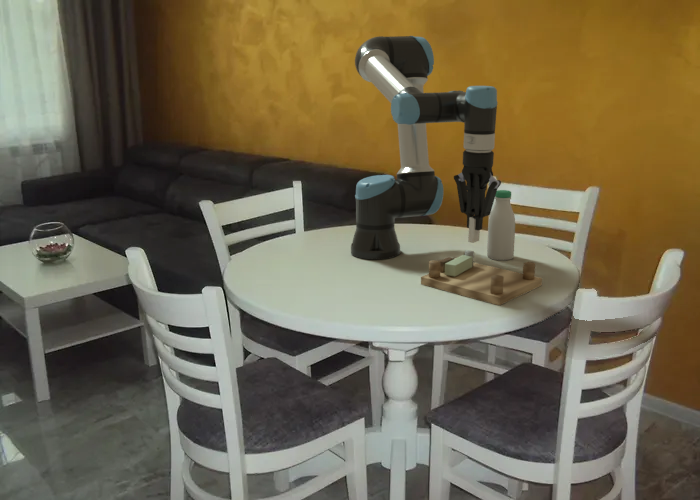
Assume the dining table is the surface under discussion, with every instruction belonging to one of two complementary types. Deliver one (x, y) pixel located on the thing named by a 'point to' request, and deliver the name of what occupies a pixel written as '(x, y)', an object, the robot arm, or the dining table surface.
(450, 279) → the stool board
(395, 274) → the dining table surface
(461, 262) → the rail
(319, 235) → the dining table surface
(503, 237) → the milk bottle
